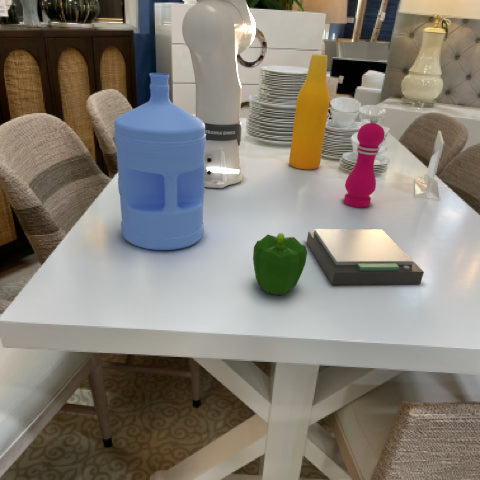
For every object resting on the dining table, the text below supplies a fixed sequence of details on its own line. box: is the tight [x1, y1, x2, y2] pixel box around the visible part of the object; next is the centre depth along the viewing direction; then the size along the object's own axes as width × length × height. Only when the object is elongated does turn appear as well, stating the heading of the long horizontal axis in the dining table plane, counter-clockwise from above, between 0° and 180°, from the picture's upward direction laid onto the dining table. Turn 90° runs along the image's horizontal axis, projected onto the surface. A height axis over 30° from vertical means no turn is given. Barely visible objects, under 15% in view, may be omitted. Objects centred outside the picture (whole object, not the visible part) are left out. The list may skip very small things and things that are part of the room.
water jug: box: [113, 72, 206, 251], centre depth 84 cm, size 16×16×28 cm
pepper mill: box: [343, 115, 386, 208], centre depth 110 cm, size 7×7×20 cm
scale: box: [306, 228, 425, 286], centre depth 87 cm, size 16×17×3 cm
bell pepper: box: [252, 232, 308, 296], centre depth 75 cm, size 8×8×10 cm
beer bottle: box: [288, 53, 331, 171], centre depth 133 cm, size 9×9×29 cm
